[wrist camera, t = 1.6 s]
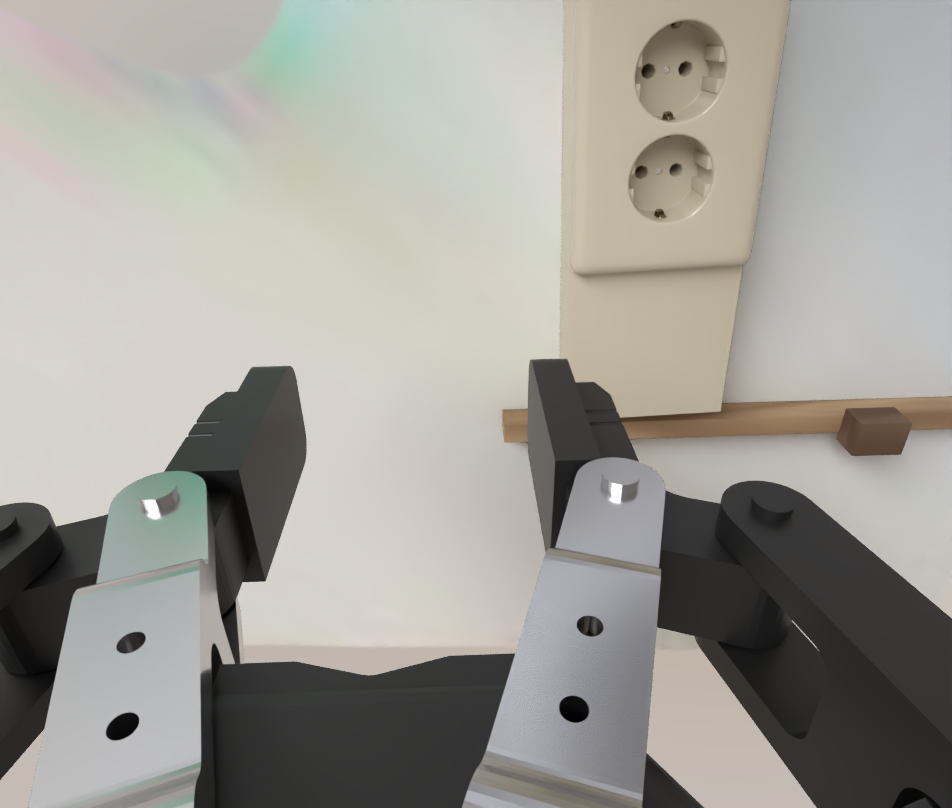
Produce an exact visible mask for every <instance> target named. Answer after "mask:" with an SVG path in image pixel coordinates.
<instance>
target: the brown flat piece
mask: <svg viewBox="0 0 952 808" xmlns="http://www.w3.org/2000/svg"><path fill="white" fill-rule="evenodd" d="M527 421H528V409H514V410H503V434H504V442H528V439H527ZM621 421H622V425H623V426H624V428H625V430H626V433H627V435H628V437H629V439H637V438H670V437H702V436H735V435H768V434H801V433H834V432H839V433H838V436H837V440H838V441H839V442H840V443H841V444H842V445H843V447H844V448H845V449H846V450H847V451H848V452H849V453H850V454H851V455H852V456H867V455H899V454H901V453H902V450H903V448H904V445H905V442H906V440H907V437H908V434H909V432H910V430H933V429H952V397H922V398H888V399H854V400H820V401H786V402H752V403H722V405H721V411H720V412H704V413H688V414H671V415H655V416H639V417H622V418H621Z"/></svg>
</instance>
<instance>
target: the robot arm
mask: <svg viewBox="0 0 952 808" xmlns="http://www.w3.org/2000/svg"><path fill="white" fill-rule="evenodd" d="M527 439H528V454H529V460H530V466H531V472H532V477H533V483H534V489H535V495H536V500H537V506H538V512H539V517H540V523H541V529H542V534H543V540H544V546H545V551H546V554H545V557H544V560H543V563H542V567H541V570H540V573H539V577H538V580H537V583H536V587H535V590H534V593H533V596H532V600H531V603H530V606H529V610H528V613H527V616H526V620H525V623H524V626H523V630H522V633H521V636H520V640H519V643H518V646H517V650H516V653H515V654H493V655H491V654H490V655H464V656H448V657H444V658H440V659H436V660H432V661H428V662H424V663H421V664H417V665H413V666H409V667H405V668H401V669H397V670H394V671H390V672H386V673H382V674H378V675H370V676H367V675H360V674H355V673H350V672H345V671H340V670H335V669H330V668H324V667H320V666H315V665H309V664H304V663H299V662H272V663H245V659H244V646H243V633H242V621H241V610H240V606H239V602H238V599H237V595H238V592H239V590H240V587H241V584H242V582H259V581H266V578H267V575H268V572H269V569H270V566H271V563H272V560H273V557H274V554H275V551H276V548H277V545H278V542H279V539H280V536H281V533H282V530H283V527H284V524H285V521H286V518H287V515H288V512H289V509H290V506H291V503H292V500H293V497H294V494H295V491H296V488H297V485H298V482H299V479H300V476H301V473H302V470H303V467H304V464H305V460H306V433H305V427H304V421H303V415H302V410H301V404H300V398H299V392H298V387H297V381H296V376H295V372H294V370H293V368H292V367H291V366H273V367H252V368H251V369H250V371H249V372H248V374H247V376H246V378H245V379H244V381H243V383H242V385H241V386H240V388H239V390H238V391H237V392H225V393H224V394H222V395H221V396H220V397H218V398H217V399H215V400H214V401H213V402H211V403H210V404H208V405H207V406H206V407H205V409H204V410H203V412H202V414H201V415H200V417H199V418H198V420H197V424H194V426H193V428H192V429H191V431H190V432H189V437H186V439H185V440H184V442H183V443H182V445H181V446H180V448H179V449H178V451H177V453H176V454H175V456H174V457H173V459H172V460H171V462H170V463H169V465H168V467H167V468H166V470H165V471H164V472H162V473H157V474H153V475H150V476H147V477H144V478H142V479H140V480H137V481H136V482H134V483H132V484H130V485H129V486H127V487H126V488H124V489H123V490H122V491H121V492H119V493H118V494H117V495H116V497H115V498H114V499H113V501H112V502H111V505H110V508H109V514H108V515H104V516H100V517H96V518H92V519H88V520H83V521H79V522H74V523H70V524H66V525H61V526H57V527H56V525H55V523H54V521H53V519H52V516H51V514H50V512H49V510H48V509H47V508H46V507H44V506H42V505H39V504H35V503H14V504H8V505H3V506H0V780H1V778H2V777H3V776H4V775H5V774H6V773H7V771H8V770H9V769H10V768H11V767H12V766H13V764H14V763H15V762H16V761H17V760H18V759H19V758H20V756H21V755H22V754H23V753H24V752H25V751H26V749H27V748H28V747H29V746H30V745H31V744H32V742H33V741H34V740H35V739H36V738H37V737H38V735H39V734H40V733H41V732H42V731H43V730H44V733H43V738H42V743H41V747H40V753H39V757H38V761H37V766H36V771H35V775H34V781H33V785H32V790H31V795H30V799H29V804H28V808H704V807H703V806H702V805H701V804H700V803H698V802H697V801H696V800H695V799H694V798H693V797H692V796H691V795H690V794H689V793H688V792H687V791H686V790H685V789H684V788H683V787H682V786H681V785H679V784H678V782H676V781H675V780H674V779H673V778H672V777H671V776H670V775H669V774H668V773H667V772H666V771H665V770H664V769H663V768H662V767H661V766H660V765H659V764H658V763H657V762H655V761H654V760H653V759H652V758H651V757H650V756H649V755H648V754H647V753H646V750H647V738H648V726H649V714H650V702H651V690H652V678H653V665H654V654H655V642H656V630H657V627H658V628H663V629H667V630H671V631H676V632H680V633H684V634H689V635H693V636H695V639H696V641H697V643H698V645H699V647H700V648H701V650H702V651H703V652H704V654H705V655H706V657H707V658H708V659H709V661H710V662H711V663H712V665H713V666H714V668H715V669H716V670H717V672H718V673H719V674H720V676H721V677H722V678H723V680H724V681H725V683H726V684H727V685H728V687H729V688H730V689H731V691H732V692H733V694H735V696H736V698H737V699H738V700H739V702H740V703H741V704H742V706H743V707H744V709H745V710H746V711H747V713H748V714H749V715H750V717H751V718H752V720H753V721H754V722H755V723H756V725H757V726H758V728H759V729H760V730H761V732H762V733H763V734H764V736H765V737H766V739H767V740H768V741H769V743H770V744H771V746H772V747H773V748H774V750H775V751H776V752H777V754H778V755H779V756H780V758H781V759H782V760H783V762H784V763H785V765H786V766H787V767H788V769H789V770H790V771H791V773H792V774H793V775H794V777H795V778H796V780H797V781H798V782H799V784H800V785H801V787H802V788H803V789H804V791H805V792H806V793H807V795H808V796H809V797H810V799H811V800H812V802H813V803H814V804H815V805H816V807H817V808H952V618H950V617H949V616H948V615H947V614H946V613H944V612H943V611H942V610H941V609H940V608H938V607H937V606H936V605H935V604H934V603H932V602H931V601H930V600H929V599H928V598H926V597H925V596H924V595H923V594H922V593H921V592H919V591H918V590H917V589H916V588H915V587H913V586H912V585H911V584H910V583H909V582H907V581H906V580H905V579H904V578H903V577H901V576H900V575H899V574H898V573H897V572H895V571H894V570H893V569H892V568H891V567H890V566H888V565H887V564H886V563H885V562H884V561H882V560H881V559H880V558H879V557H878V556H876V555H875V554H874V553H873V552H872V551H870V550H869V549H868V548H867V547H866V546H865V545H863V544H862V543H861V542H860V541H859V540H857V539H856V538H855V537H854V536H853V535H851V534H850V533H849V532H848V531H847V530H845V529H844V528H843V527H842V526H841V525H839V524H838V523H837V522H836V521H835V520H834V519H832V518H831V517H830V516H829V515H828V514H826V513H825V512H824V511H823V510H822V509H820V508H819V507H818V506H817V505H816V504H814V503H813V502H812V501H811V500H810V499H808V498H807V497H806V496H804V495H803V494H801V493H799V492H797V491H795V490H793V489H791V488H789V487H786V486H783V485H780V484H776V483H771V482H765V481H746V482H740V483H737V484H734V485H732V486H730V487H729V488H728V489H726V491H725V492H724V493H723V496H722V499H721V504H719V503H713V502H708V501H702V500H696V499H691V498H686V497H682V496H679V495H676V494H673V493H671V492H668V491H666V487H665V483H664V480H663V479H662V477H661V476H660V475H659V474H658V473H657V472H656V471H655V470H654V469H652V468H651V467H649V466H647V465H645V464H643V463H641V462H639V461H638V459H637V456H636V454H635V451H634V449H633V447H632V444H631V442H630V440H629V437H628V435H627V433H626V430H625V428H624V426H623V425H622V421H621V418H620V416H619V414H618V412H617V409H616V407H615V404H614V402H613V400H612V397H611V395H610V394H609V393H608V392H607V391H605V390H604V389H603V388H601V387H600V386H599V385H598V384H596V383H595V382H575V379H574V376H573V374H572V371H571V368H570V365H569V362H568V360H567V359H536V360H530V364H529V385H528V421H527ZM792 620H793V621H794V622H795V623H796V624H797V625H798V626H799V628H800V629H801V630H802V631H803V632H804V633H805V634H806V635H807V636H808V637H809V638H810V640H811V641H812V642H813V643H814V644H815V645H816V647H817V648H818V650H819V651H820V652H819V651H818V650H817V649H816V648H815V647H814V645H813V644H812V643H811V642H810V641H809V640H808V639H807V638H806V637H805V636H804V635H803V633H802V632H801V631H800V630H799V629H798V628H797V627H796V626H795V625H794V624H793V623H792Z"/></svg>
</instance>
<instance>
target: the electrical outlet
mask: <svg viewBox="0 0 952 808" xmlns="http://www.w3.org/2000/svg"><path fill="white" fill-rule="evenodd" d="M790 4H791V0H563V89H562V179H561V270H560V359H567V360H568V362H569V365H570V368H571V371H572V374H573V376H574V379H575V382H595V383H596V384H598V385H599V386H600V387H601V388H603V389H604V390H605V391H607V392H608V393H609V394H610V395H611V397H612V400H613V402H614V404H615V407H616V409H617V412H618V414H619V416H620V418H622V417H639V416H655V415H671V414H688V413H704V412H720V411H721V405H722V399H723V392H724V386H725V379H726V373H727V366H728V360H729V353H730V347H731V340H732V334H733V327H734V321H735V314H736V308H737V301H738V295H739V288H740V282H741V275H742V269H743V264H745V263H746V262H747V261H748V260H749V259H750V256H751V250H752V244H753V238H754V231H755V225H756V219H757V212H758V206H759V200H760V193H761V187H762V181H763V174H764V168H765V162H766V156H767V149H768V143H769V137H770V130H771V124H772V118H773V111H774V105H775V99H776V93H777V86H778V80H779V74H780V67H781V61H782V55H783V48H784V42H785V36H786V29H787V23H788V17H789V11H790ZM641 70H642V71H641Z"/></svg>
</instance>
